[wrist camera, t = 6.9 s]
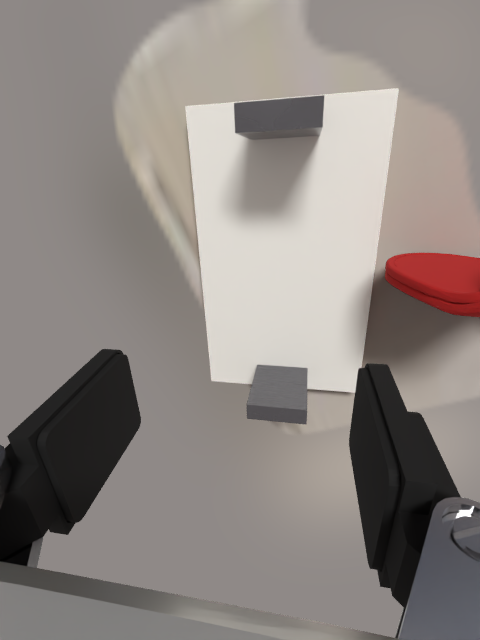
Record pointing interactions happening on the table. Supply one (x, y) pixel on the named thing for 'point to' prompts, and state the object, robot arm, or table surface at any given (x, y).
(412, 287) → the red curved piece
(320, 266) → the board
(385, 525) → the robot arm
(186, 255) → the table surface
